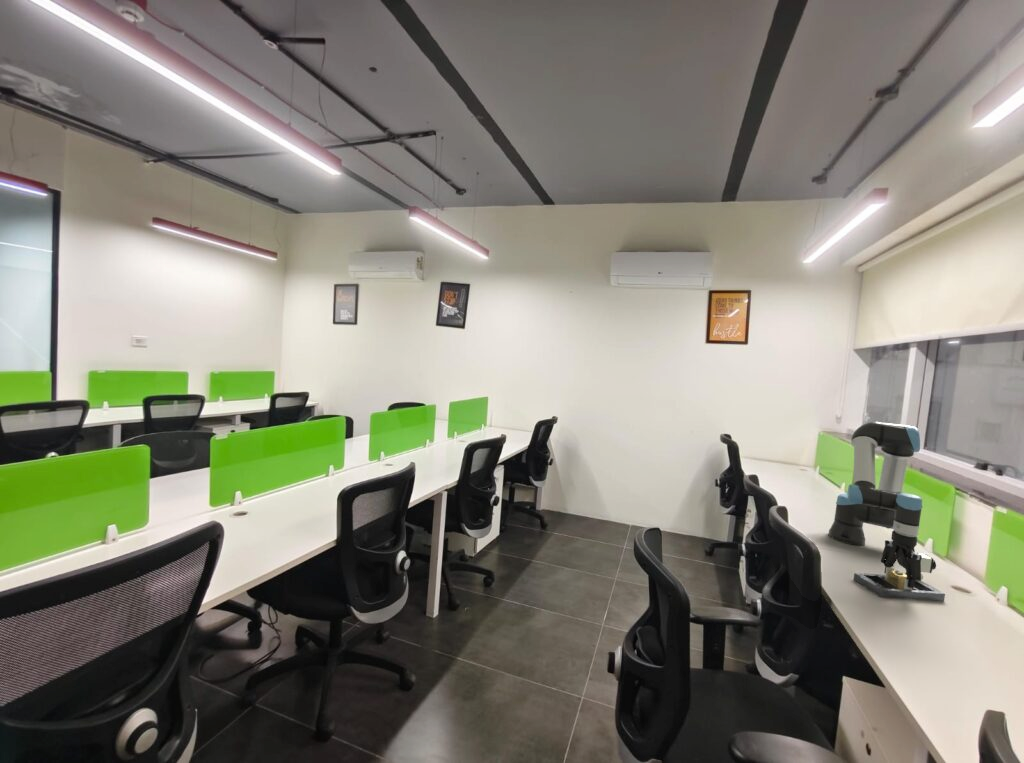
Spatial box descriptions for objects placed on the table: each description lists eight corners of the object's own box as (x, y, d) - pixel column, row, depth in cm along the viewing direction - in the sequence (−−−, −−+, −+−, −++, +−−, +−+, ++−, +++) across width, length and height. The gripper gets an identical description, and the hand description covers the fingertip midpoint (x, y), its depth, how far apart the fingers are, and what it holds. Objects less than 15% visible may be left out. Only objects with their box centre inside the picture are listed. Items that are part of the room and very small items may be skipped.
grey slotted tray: (853, 579, 180) (854, 572, 180) (912, 583, 180) (913, 576, 180) (880, 597, 167) (881, 589, 167) (944, 601, 167) (945, 593, 167)
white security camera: (933, 584, 181) (937, 556, 180) (901, 579, 183) (905, 552, 182) (924, 578, 186) (928, 551, 185) (892, 573, 188) (896, 546, 188)
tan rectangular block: (897, 587, 176) (899, 569, 175) (907, 593, 171) (910, 575, 171) (886, 587, 176) (888, 568, 175) (896, 593, 171) (898, 574, 171)
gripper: (873, 522, 182) (866, 574, 184) (920, 544, 162) (912, 602, 163) (891, 523, 182) (884, 575, 184) (940, 545, 162) (931, 604, 163)
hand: (897, 588), depth 174 cm, fingers open, 8 cm apart
